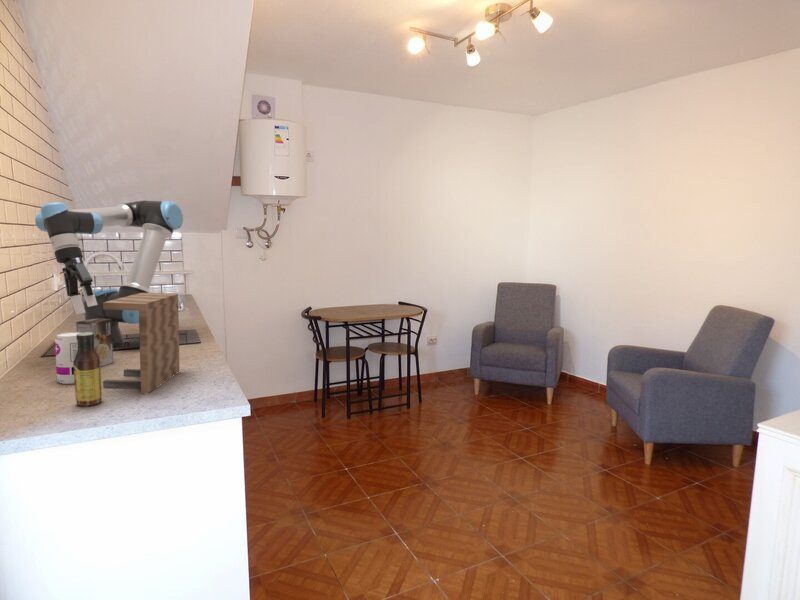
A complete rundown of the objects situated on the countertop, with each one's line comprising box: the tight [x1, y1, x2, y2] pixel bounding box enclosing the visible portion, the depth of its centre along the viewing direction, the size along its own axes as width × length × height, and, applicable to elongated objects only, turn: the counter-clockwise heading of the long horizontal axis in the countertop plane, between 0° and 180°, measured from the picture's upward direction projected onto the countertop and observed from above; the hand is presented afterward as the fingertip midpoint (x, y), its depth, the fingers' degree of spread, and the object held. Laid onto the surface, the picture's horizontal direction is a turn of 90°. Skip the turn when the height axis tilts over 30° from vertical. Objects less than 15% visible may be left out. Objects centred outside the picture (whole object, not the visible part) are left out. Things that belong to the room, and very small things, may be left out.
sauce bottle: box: [73, 332, 103, 407], centre depth 137 cm, size 7×6×20 cm
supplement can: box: [54, 331, 82, 385], centre depth 156 cm, size 8×8×15 cm
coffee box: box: [75, 318, 114, 368], centre depth 175 cm, size 9×6×16 cm
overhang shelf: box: [102, 292, 181, 394], centre depth 157 cm, size 24×16×27 cm, turn 3°
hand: (86, 310), depth 167 cm, fingers open, 13 cm apart
